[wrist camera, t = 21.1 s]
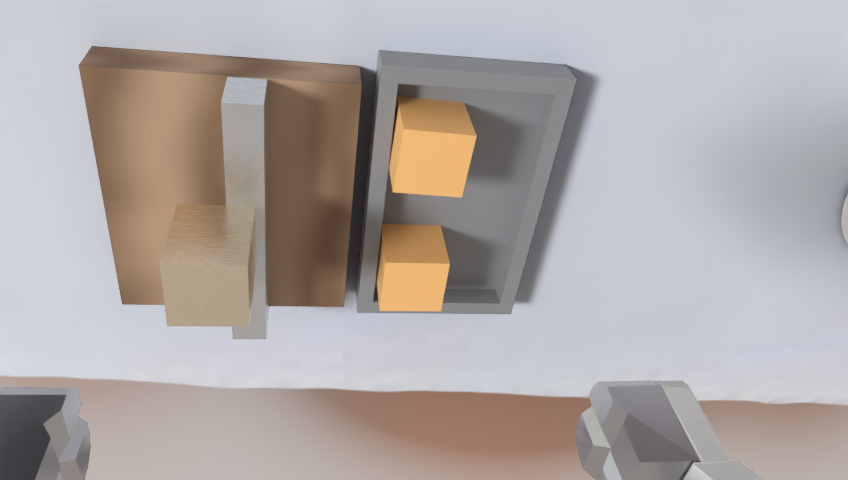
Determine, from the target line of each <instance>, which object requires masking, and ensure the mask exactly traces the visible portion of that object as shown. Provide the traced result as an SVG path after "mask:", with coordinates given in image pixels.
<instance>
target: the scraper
mask: <svg viewBox="0 0 848 480" xmlns="http://www.w3.org/2000/svg"><path fill="white" fill-rule="evenodd" d="M221 112H222V132H223V152H224V172H225V191H226V206H221V205H194V204H177V205H176V209H175V212H174V216H173V219H172V223H171V226H170V229H169V233H168V236H167V240H166V243H165V247H164V250H163V254H162V257H161V261H160V264H159V265H160V272H161V280H162V288H163V295H164V303H165V311H166V319H167V326H232V330H233V339H266V334H267V322H268V310H269V260H268V95H267V79H260V78H245V77H231V76H227V80H226V84H225V88H224V92H223V96H222V100H221Z"/></svg>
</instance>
